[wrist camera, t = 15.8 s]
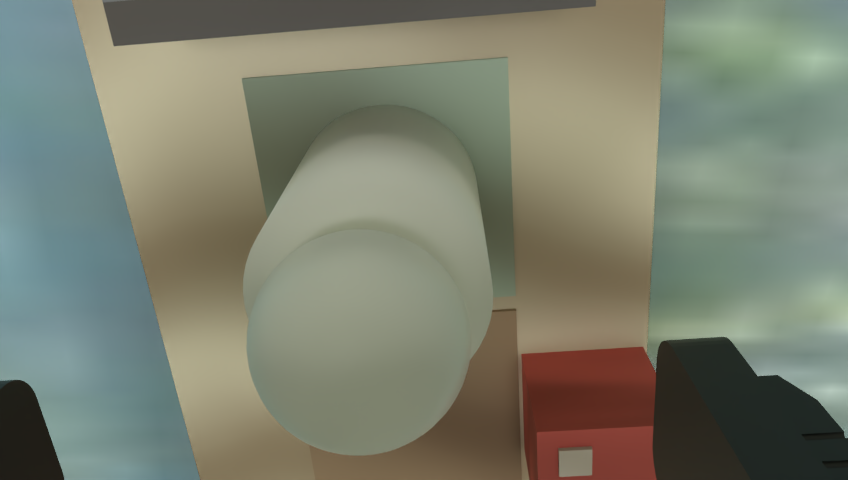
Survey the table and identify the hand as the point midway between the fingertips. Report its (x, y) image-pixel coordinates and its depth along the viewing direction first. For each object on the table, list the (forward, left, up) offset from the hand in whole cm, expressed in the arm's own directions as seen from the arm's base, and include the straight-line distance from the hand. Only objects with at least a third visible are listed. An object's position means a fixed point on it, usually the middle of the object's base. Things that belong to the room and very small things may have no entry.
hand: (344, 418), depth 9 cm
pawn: (0, 0, -8) cm, 8 cm away
